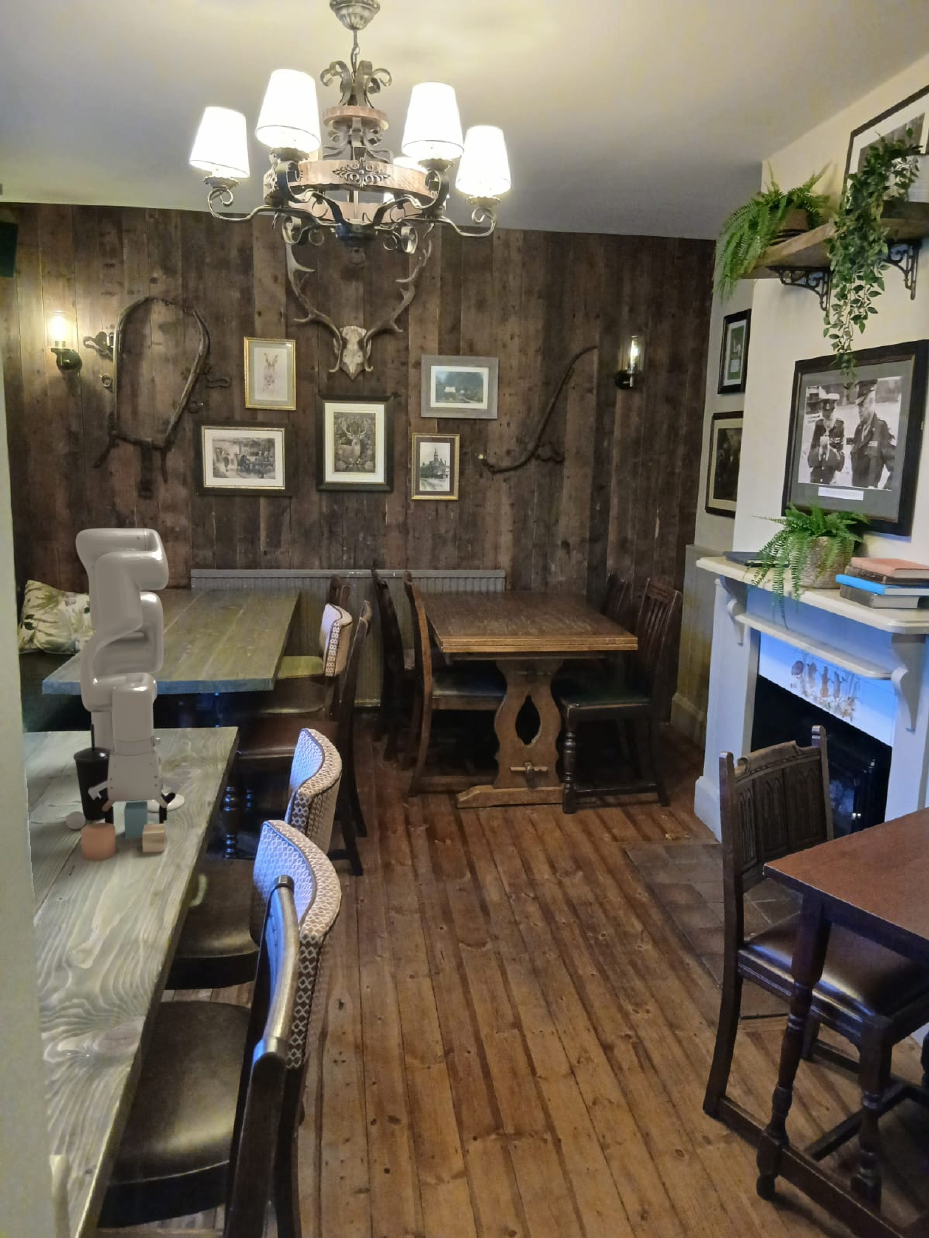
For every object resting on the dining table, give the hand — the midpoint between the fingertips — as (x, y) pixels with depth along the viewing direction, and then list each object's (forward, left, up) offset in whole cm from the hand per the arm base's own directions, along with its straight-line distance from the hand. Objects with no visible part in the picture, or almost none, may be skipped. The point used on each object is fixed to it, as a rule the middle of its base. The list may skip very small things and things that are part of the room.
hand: (136, 825), depth 177 cm
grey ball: (-4, -12, -2) cm, 13 cm away
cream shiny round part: (-14, +4, -2) cm, 15 cm away
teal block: (0, 0, -2) cm, 2 cm away
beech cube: (+7, +4, -2) cm, 8 cm away
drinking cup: (-10, -9, -2) cm, 14 cm away
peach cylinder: (+8, -6, -2) cm, 10 cm away
